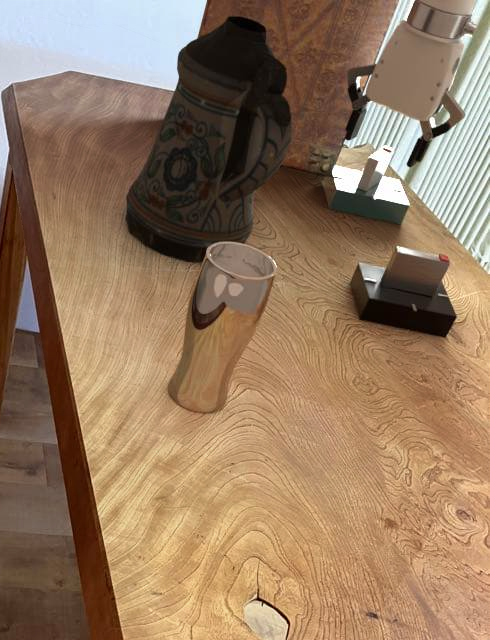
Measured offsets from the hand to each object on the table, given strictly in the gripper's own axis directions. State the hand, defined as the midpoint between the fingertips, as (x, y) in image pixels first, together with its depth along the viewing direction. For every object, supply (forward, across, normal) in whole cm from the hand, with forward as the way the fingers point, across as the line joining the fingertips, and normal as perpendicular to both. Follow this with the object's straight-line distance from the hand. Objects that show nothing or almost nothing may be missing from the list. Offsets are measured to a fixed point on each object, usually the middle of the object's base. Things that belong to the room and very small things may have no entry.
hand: (380, 151), depth 128 cm
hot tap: (+5, -16, +27) cm, 31 cm away
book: (+8, +20, -3) cm, 22 cm away
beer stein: (+8, +11, +33) cm, 36 cm away
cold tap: (+5, 0, 0) cm, 5 cm away
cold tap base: (+8, 0, 0) cm, 8 cm away
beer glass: (+8, -7, +63) cm, 64 cm away
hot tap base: (+8, -16, +27) cm, 32 cm away
